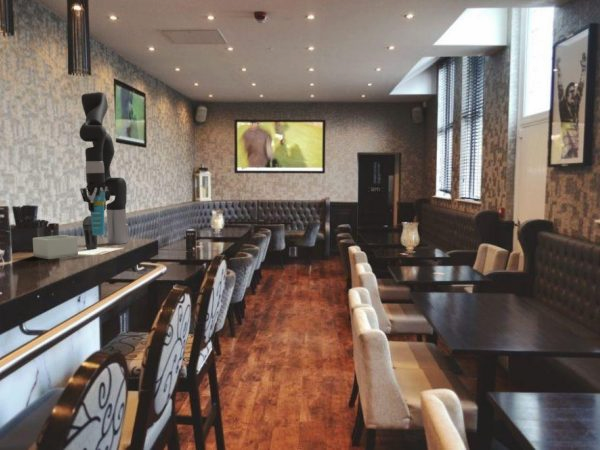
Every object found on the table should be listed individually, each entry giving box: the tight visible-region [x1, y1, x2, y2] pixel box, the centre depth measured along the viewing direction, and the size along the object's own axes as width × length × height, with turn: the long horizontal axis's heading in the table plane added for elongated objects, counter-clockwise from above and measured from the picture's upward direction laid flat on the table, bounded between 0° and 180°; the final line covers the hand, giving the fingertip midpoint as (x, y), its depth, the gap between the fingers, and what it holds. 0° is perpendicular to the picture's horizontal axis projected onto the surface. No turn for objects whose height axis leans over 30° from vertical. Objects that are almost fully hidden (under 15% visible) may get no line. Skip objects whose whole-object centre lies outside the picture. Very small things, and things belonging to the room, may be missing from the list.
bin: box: [32, 234, 79, 260], centre depth 234 cm, size 13×13×8 cm
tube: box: [87, 190, 105, 236], centre depth 236 cm, size 7×5×19 cm, turn 98°
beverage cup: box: [82, 215, 99, 250], centre depth 254 cm, size 7×7×20 cm
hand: (97, 211), depth 235 cm, fingers closed on tube, 4 cm apart
